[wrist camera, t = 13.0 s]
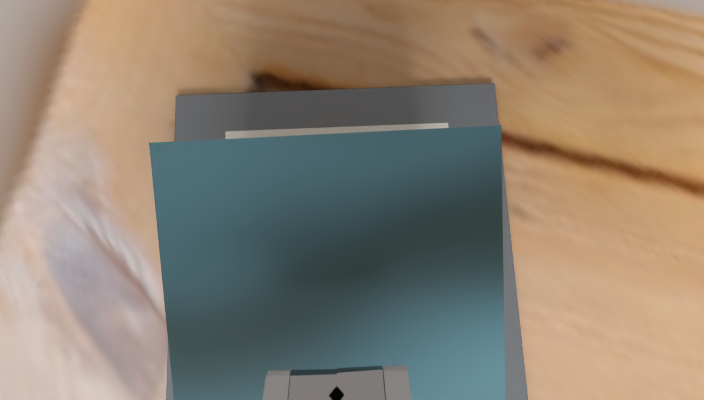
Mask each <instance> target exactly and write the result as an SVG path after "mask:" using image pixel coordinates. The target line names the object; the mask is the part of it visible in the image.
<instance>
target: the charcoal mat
mask: <svg viewBox="0 0 704 400" xmlns="http://www.w3.org/2000/svg"><path fill="white" fill-rule="evenodd" d="M495 125H499V122H498V112H497V103H496V94H495V84H494V83H489V84H463V85H437V86H412V87H386V88H360V89H334V90H308V91H282V92H257V93H231V94H205V95H179V96H176V111H175V142H178V141H198V140H218V139H237V138H257V137H277V136H297V135H317V134H336V133H356V132H376V131H396V130H416V129H435V128H455V127H475V126H495ZM501 151H502V150H501ZM502 212H503V273H504V335H505V396H506V400H528V395H527V385H526V376H525V366H524V357H523V348H522V338H521V329H520V319H519V310H518V301H517V291H516V282H515V272H514V263H513V254H512V244H511V235H510V225H509V216H508V207H507V197H506V188H505V178H504V169H503V159H502ZM166 400H174V396H173V385H172V375H171V364H170V354H169V343H168V358H167V389H166Z"/></svg>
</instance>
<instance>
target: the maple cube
mask: <svg viewBox="0 0 704 400" xmlns="http://www.w3.org/2000/svg"><path fill="white" fill-rule="evenodd" d="M149 145H150V155H151V166H152V176H153V187H154V197H155V208H156V218H157V229H158V239H159V249H160V260H161V270H162V281H163V291H164V302H165V312H166V322H167V333H168V343H169V354H170V364H171V375H172V385H173V396H174V400H262V398H263V391H264V384H265V378H266V375H267V372H268V371H270V370H310V369H337V368H347V367H364V366H382V367H383V366H395V365H405V366H406V368H407V370H408V377H409V384H410V391H411V398H412V400H506V396H505V335H504V273H503V212H502V151H501V125H495V126H475V127H455V128H435V129H416V130H396V131H376V132H356V133H336V134H317V135H297V136H277V137H257V138H237V139H218V140H198V141H178V142H158V143H149Z"/></svg>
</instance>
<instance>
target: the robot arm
mask: <svg viewBox="0 0 704 400" xmlns="http://www.w3.org/2000/svg"><path fill="white" fill-rule="evenodd" d="M262 400H412V398H411V391H410V384H409V377H408V370H407V368H406V366H405V365H395V366H383V367H382V366H364V367H347V368H337V369H310V370H270V371H268V372H267V375H266V378H265V384H264V391H263V398H262Z"/></svg>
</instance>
